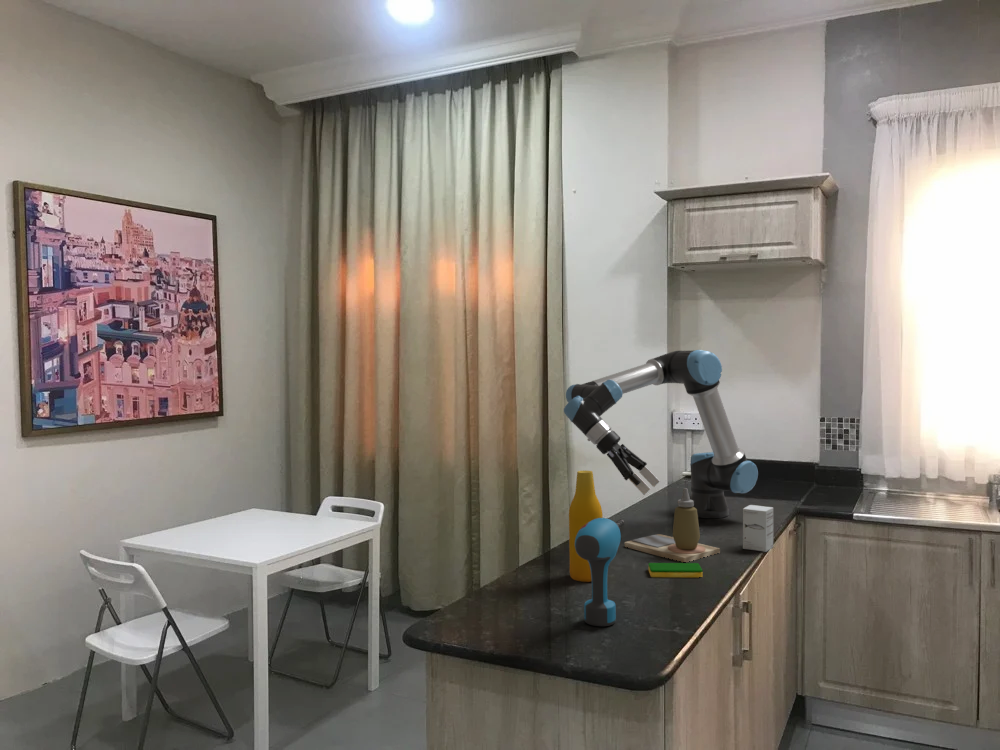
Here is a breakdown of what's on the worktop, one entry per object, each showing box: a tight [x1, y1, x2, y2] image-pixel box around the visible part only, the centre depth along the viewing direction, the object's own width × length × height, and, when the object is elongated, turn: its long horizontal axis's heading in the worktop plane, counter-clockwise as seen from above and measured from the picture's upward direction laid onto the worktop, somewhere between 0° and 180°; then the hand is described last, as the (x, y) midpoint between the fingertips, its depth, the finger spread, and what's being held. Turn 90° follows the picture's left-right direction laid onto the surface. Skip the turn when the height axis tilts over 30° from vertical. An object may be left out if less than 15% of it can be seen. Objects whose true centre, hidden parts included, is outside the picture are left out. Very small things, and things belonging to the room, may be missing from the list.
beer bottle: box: [568, 470, 604, 583], centre depth 208 cm, size 9×9×29 cm
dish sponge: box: [647, 562, 704, 578], centre depth 210 cm, size 7×14×2 cm, turn 85°
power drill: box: [575, 517, 625, 627], centre depth 178 cm, size 28×9×23 cm, turn 154°
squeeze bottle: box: [672, 487, 701, 550], centre depth 229 cm, size 8×8×18 cm
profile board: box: [624, 533, 721, 563], centre depth 234 cm, size 16×24×2 cm, turn 36°
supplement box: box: [742, 504, 775, 553], centre depth 234 cm, size 7×7×13 cm
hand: (652, 488), depth 233 cm, fingers open, 13 cm apart
